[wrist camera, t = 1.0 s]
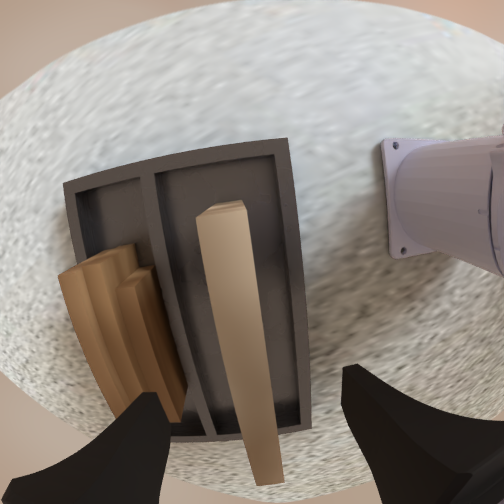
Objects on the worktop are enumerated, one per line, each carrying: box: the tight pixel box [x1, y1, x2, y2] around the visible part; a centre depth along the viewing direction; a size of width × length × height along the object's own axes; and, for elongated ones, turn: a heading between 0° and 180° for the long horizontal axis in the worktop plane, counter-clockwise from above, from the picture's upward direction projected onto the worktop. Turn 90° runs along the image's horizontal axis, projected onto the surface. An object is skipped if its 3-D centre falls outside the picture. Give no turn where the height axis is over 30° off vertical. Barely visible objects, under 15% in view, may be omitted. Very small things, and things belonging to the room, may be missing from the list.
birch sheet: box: [196, 200, 285, 486], centre depth 14 cm, size 2×14×8 cm, turn 8°
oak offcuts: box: [58, 243, 188, 422], centre depth 15 cm, size 3×11×6 cm, turn 8°
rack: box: [63, 138, 312, 442], centre depth 17 cm, size 13×20×2 cm, turn 8°
